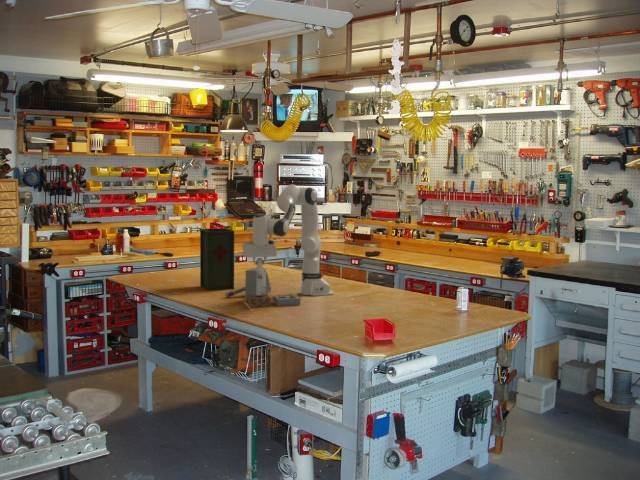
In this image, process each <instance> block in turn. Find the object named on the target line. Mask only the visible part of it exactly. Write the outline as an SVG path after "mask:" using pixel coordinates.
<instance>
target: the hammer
mask: <svg viewBox="0 0 640 480" xmlns="http://www.w3.org/2000/svg"><path fill="white" fill-rule="evenodd" d="M271 291H272V287H271V283H270V278H269V274H268V272H267V271H266V295H268V294H269V293H271ZM242 292H245V286H244V287H240V288H238V289H234V290H231V291H229V292H226V293H225V294H224V295H225V297H226V299H228V298H230V297H234V296H235V295H237V294H240V293H242Z"/></svg>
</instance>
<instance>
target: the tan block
mask: <svg viewBox="0 0 640 480" xmlns="http://www.w3.org/2000/svg"><path fill="white" fill-rule="evenodd" d="M289 295H290V296H291V297H292V298H296V296H298V293H297V292H292V291H291V292H290V293H289Z"/></svg>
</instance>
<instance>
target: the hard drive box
mask: <svg viewBox="0 0 640 480" xmlns="http://www.w3.org/2000/svg"><path fill="white" fill-rule="evenodd" d="M266 272H267V268H265V267H262V278H257V266H256V267H254V268H250V269H247V270H245V286H244V287H245V291H244V302H245V303H247V302H248V295H267V294H266Z"/></svg>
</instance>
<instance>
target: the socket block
mask: <svg viewBox="0 0 640 480" xmlns="http://www.w3.org/2000/svg"><path fill="white" fill-rule="evenodd" d="M273 303H274V304H275V305H276V307H285V306H287V307H288V306H289V307H290V306H291V307H292V306H301V298H300V297H299V296H298V295H297V296H296V298H292V297H291V295H274V296H273Z"/></svg>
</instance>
